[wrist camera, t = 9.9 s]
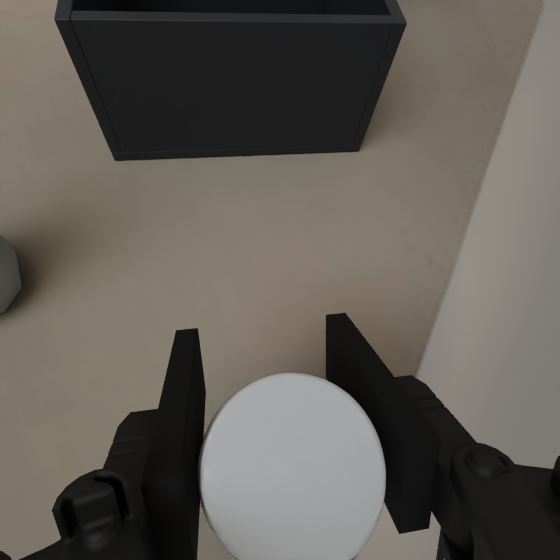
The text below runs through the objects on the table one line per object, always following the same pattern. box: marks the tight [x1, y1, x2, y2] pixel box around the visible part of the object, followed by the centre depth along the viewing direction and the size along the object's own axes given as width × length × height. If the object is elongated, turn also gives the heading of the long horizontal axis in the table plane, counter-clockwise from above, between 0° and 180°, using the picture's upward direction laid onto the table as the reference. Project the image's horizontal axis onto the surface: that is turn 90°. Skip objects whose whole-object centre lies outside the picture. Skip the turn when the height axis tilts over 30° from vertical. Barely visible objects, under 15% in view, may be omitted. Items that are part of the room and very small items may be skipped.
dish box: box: [55, 0, 406, 160], centre depth 29 cm, size 16×20×10 cm
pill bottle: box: [197, 372, 386, 560], centre depth 12 cm, size 5×5×8 cm
